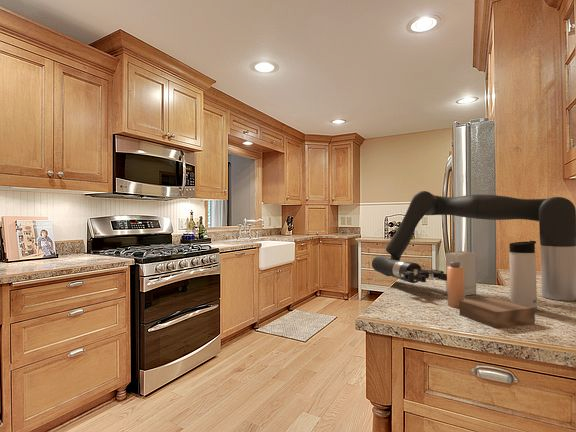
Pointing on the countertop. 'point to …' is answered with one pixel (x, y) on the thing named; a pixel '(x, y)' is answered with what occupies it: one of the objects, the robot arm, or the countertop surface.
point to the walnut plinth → (497, 312)
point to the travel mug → (523, 273)
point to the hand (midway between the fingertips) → (436, 278)
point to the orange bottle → (455, 284)
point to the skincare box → (465, 269)
